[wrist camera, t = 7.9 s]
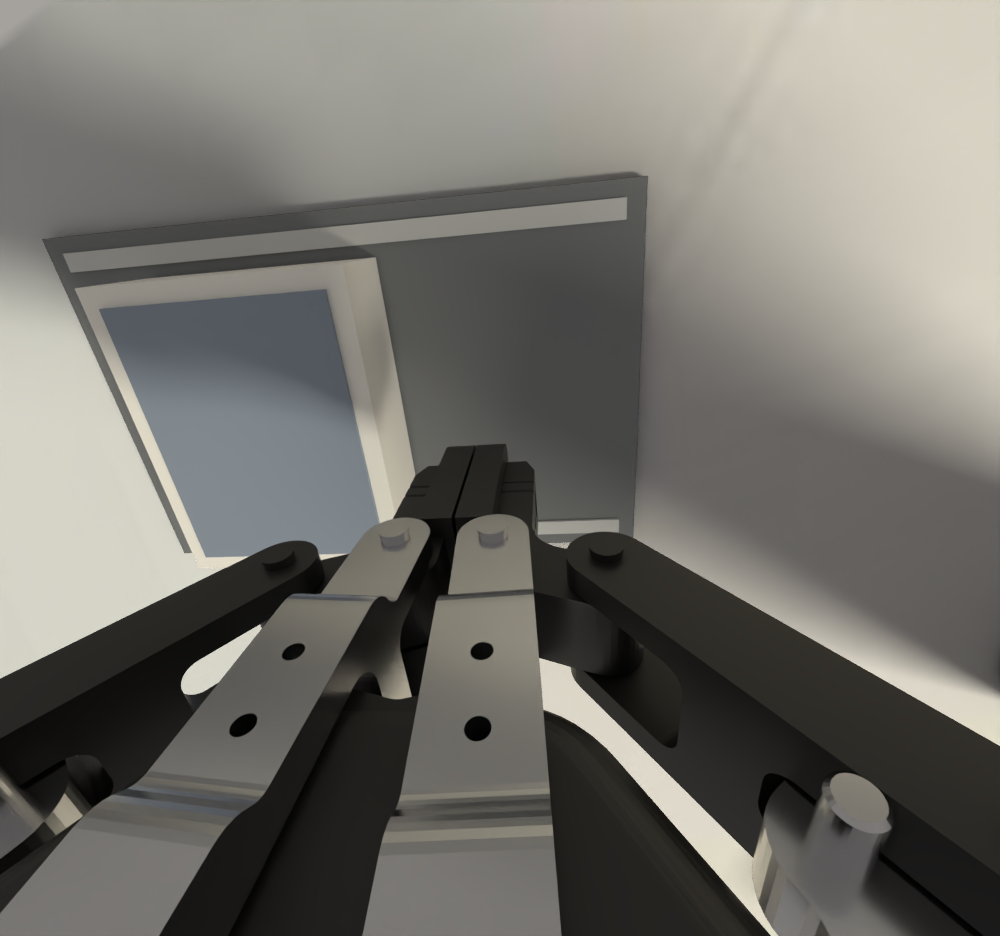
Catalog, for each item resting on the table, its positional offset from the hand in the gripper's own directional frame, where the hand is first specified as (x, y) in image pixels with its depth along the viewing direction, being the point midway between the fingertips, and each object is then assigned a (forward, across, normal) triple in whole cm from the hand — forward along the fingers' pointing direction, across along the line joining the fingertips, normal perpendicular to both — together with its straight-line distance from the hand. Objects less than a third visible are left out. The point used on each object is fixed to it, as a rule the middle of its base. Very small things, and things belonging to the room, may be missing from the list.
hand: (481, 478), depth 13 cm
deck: (+4, +8, 0) cm, 9 cm away
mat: (+6, +5, 0) cm, 8 cm away
